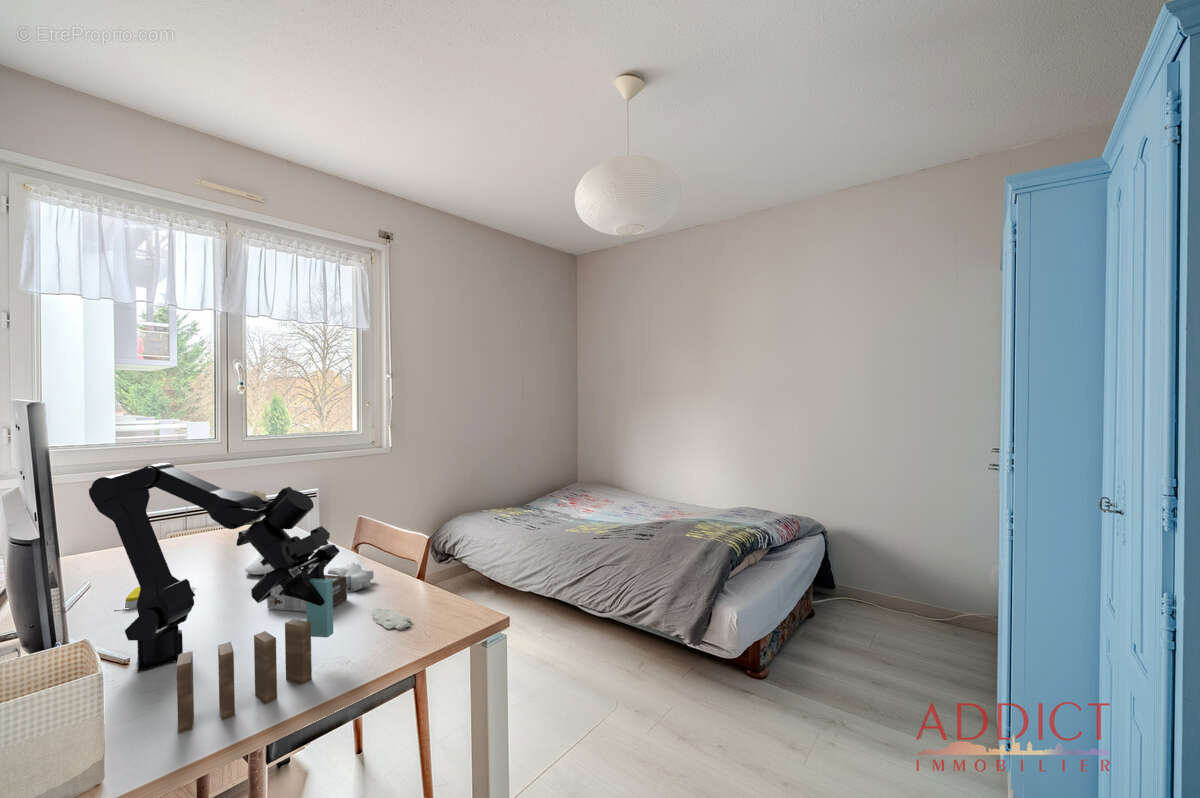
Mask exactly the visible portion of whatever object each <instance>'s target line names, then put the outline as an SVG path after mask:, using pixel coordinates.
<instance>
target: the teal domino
mask: <svg viewBox="0 0 1200 798" xmlns="http://www.w3.org/2000/svg"><path fill="white" fill-rule="evenodd" d="M309 581H310V582H311V584H312V585H313V586H314V587H315V589H316V590H317V591H318V592H319V594H320V595H321V596H322V598H323V600H324V601H325V603H324V604H323V605H322V606H319V605H316V604H313V603H310V602H307V601H306V605H307V612H306V621H308V622H311V638H312V637H313V638H329V637H330V636H331V635H333V634H334V607H333V588H332V579H316V578H312V579H310V580H309Z"/></svg>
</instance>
